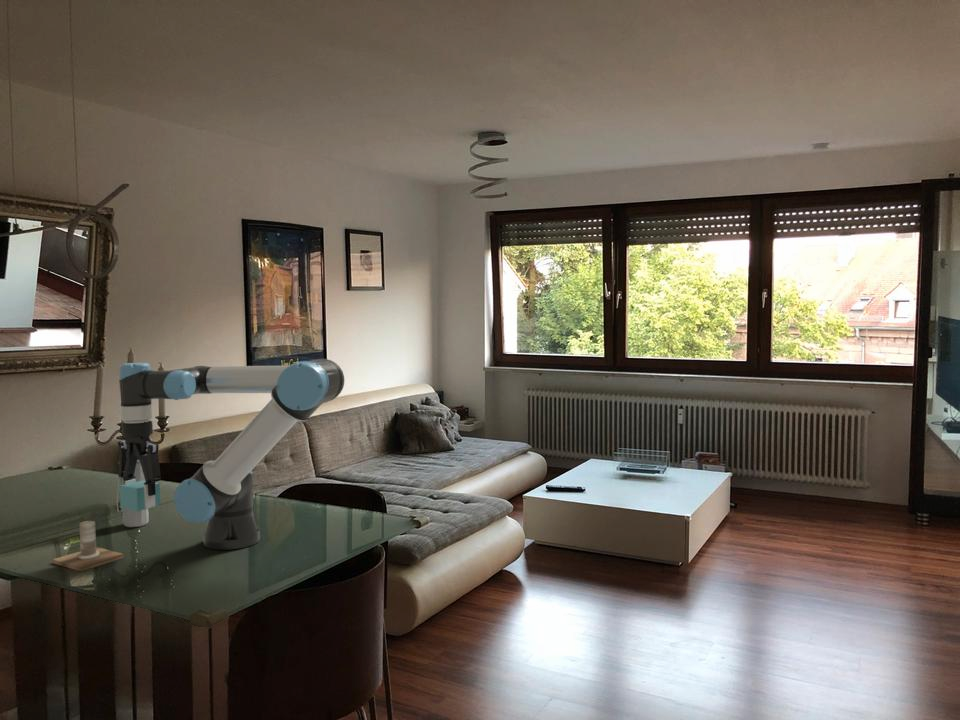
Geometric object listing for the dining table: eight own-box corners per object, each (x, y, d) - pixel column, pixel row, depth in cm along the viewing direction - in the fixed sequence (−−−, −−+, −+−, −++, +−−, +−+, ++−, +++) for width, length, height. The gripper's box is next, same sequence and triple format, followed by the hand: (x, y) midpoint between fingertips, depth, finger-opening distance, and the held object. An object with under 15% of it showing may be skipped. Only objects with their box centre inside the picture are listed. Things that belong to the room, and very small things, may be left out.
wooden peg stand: (123, 557, 201) (122, 520, 201) (80, 571, 191) (79, 532, 190) (95, 550, 207) (94, 514, 206) (52, 563, 197) (51, 525, 196)
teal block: (160, 505, 206) (159, 483, 205) (137, 511, 200) (136, 488, 199) (143, 501, 209) (142, 480, 209) (120, 507, 203) (119, 485, 203)
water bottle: (141, 519, 237) (139, 440, 235) (154, 524, 232) (151, 443, 230) (111, 526, 229) (109, 444, 228) (124, 531, 224) (121, 447, 223)
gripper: (173, 421, 201) (177, 506, 203) (125, 416, 211) (129, 498, 213) (149, 425, 195) (152, 513, 196) (100, 420, 205) (104, 504, 206)
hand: (140, 505), depth 205 cm, fingers closed on teal block, 7 cm apart
